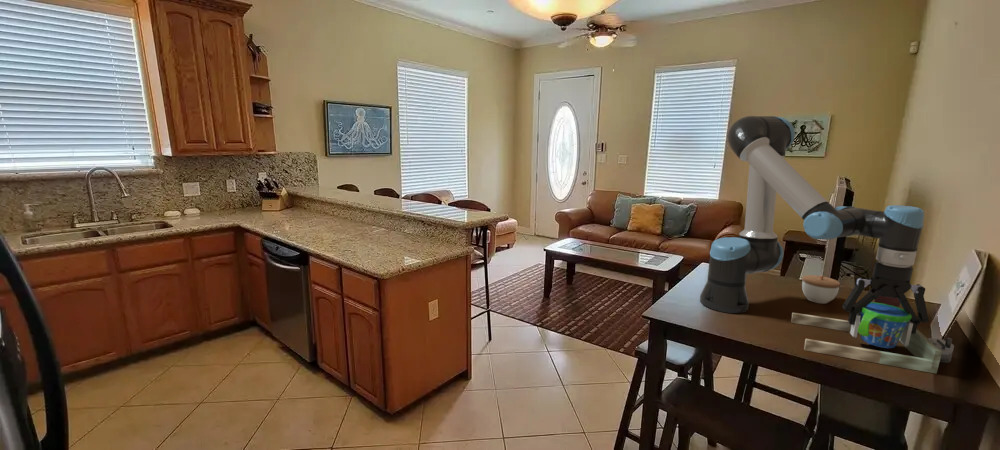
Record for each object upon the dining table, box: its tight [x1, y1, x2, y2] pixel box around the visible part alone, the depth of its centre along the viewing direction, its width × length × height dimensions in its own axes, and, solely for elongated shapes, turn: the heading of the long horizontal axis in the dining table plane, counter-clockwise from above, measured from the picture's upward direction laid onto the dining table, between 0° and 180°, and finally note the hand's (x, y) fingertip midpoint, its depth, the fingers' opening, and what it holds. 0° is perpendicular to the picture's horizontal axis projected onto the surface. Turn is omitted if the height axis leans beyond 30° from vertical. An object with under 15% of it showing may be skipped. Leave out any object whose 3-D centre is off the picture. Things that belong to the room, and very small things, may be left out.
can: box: [873, 296, 901, 308], centre depth 136 cm, size 6×6×14 cm
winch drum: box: [927, 337, 955, 364], centre depth 109 cm, size 5×6×7 cm
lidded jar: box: [801, 274, 841, 305], centre depth 149 cm, size 11×11×9 cm
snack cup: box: [857, 301, 912, 349], centre depth 115 cm, size 16×10×10 cm
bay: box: [790, 312, 942, 374], centre depth 118 cm, size 27×20×6 cm
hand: (878, 339), depth 116 cm, fingers closed on snack cup, 10 cm apart
